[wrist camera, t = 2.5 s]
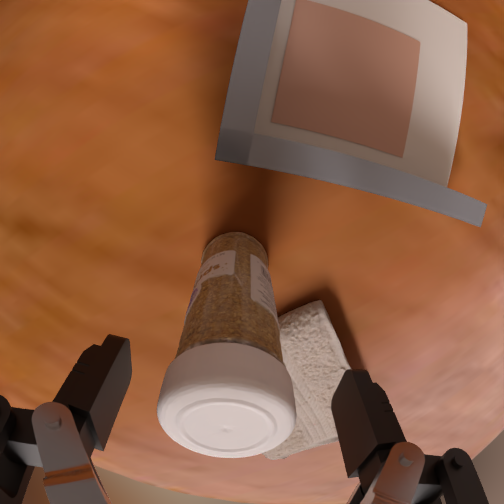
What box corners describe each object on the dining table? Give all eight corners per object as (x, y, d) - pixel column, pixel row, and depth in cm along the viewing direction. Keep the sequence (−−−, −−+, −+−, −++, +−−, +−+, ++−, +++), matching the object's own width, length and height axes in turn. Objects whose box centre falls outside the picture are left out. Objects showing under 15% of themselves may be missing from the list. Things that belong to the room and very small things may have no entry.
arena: (222, 153, 18) (214, 159, 13) (268, -50, 13) (275, -92, 8) (437, 206, 20) (480, 227, 15) (463, 24, 14) (503, 11, 9)
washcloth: (270, 448, 30) (272, 469, 27) (182, 345, 24) (175, 370, 21) (368, 413, 28) (376, 434, 25) (318, 289, 22) (327, 311, 20)
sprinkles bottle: (202, 228, 20) (143, 374, 7) (272, 232, 20) (312, 384, 8) (201, 289, 22) (164, 456, 9) (265, 293, 22) (287, 463, 9)
